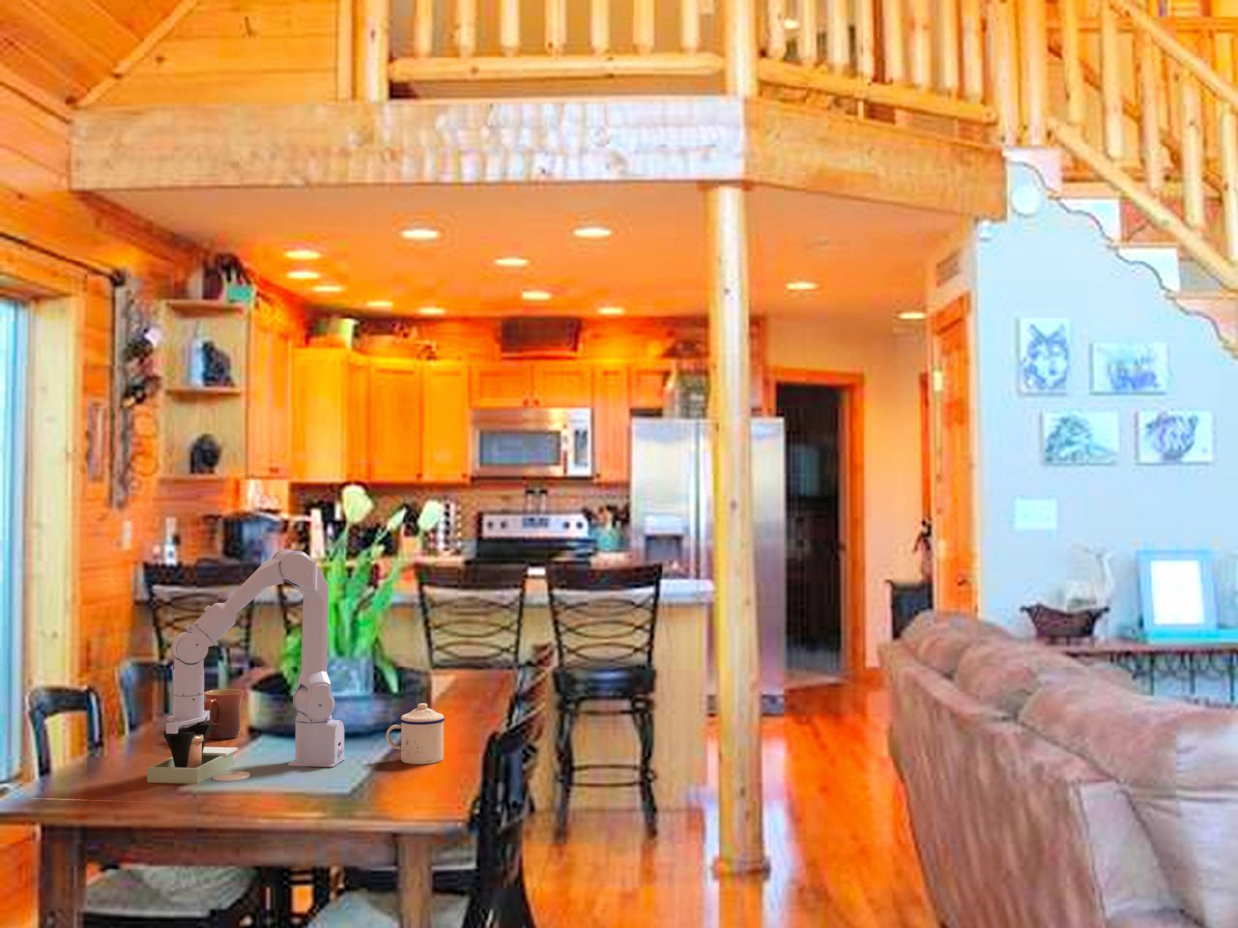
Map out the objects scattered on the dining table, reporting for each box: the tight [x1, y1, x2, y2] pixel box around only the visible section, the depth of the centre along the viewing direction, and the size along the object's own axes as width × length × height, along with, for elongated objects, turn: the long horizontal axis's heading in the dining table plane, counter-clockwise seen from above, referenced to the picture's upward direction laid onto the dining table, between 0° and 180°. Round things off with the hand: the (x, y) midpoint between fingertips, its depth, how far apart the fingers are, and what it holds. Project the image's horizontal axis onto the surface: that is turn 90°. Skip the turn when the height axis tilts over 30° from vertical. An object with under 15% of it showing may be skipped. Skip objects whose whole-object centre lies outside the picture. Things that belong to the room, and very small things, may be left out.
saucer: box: [211, 770, 251, 782], centre depth 240 cm, size 7×7×1 cm
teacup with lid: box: [385, 702, 446, 765], centre depth 256 cm, size 12×9×12 cm
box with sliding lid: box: [146, 746, 239, 784], centre depth 243 cm, size 11×18×4 cm, turn 174°
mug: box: [204, 688, 245, 741], centre depth 279 cm, size 12×9×10 cm
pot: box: [174, 734, 203, 768], centre depth 241 cm, size 6×6×8 cm
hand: (188, 764), depth 241 cm, fingers closed on pot, 5 cm apart
